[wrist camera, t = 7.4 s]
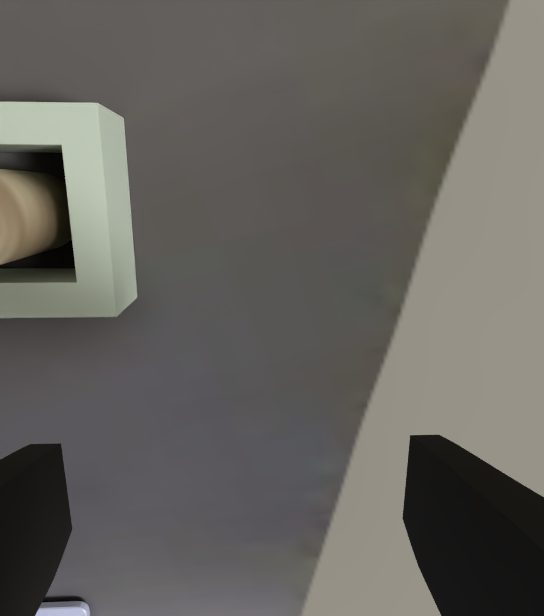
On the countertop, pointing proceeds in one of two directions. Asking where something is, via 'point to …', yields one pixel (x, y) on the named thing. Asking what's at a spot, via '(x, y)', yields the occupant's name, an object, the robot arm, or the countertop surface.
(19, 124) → the hole block
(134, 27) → the countertop surface
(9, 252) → the beech peg
